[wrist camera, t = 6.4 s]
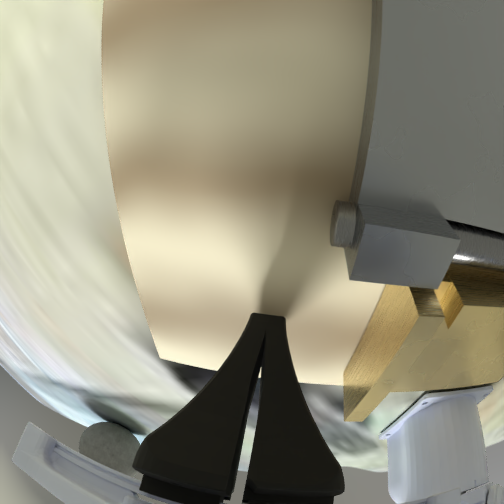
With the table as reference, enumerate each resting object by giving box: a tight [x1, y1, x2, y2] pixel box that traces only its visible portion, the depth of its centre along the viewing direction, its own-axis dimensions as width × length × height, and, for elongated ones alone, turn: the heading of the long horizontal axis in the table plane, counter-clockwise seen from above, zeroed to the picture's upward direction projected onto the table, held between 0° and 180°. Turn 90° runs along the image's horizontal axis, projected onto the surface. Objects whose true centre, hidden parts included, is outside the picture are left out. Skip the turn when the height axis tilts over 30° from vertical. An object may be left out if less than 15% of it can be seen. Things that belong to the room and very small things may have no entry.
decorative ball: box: [79, 422, 140, 477], centre depth 30 cm, size 10×10×10 cm
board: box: [102, 0, 504, 385], centre depth 9 cm, size 22×26×1 cm
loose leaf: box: [343, 264, 504, 421], centre depth 10 cm, size 8×12×3 cm
